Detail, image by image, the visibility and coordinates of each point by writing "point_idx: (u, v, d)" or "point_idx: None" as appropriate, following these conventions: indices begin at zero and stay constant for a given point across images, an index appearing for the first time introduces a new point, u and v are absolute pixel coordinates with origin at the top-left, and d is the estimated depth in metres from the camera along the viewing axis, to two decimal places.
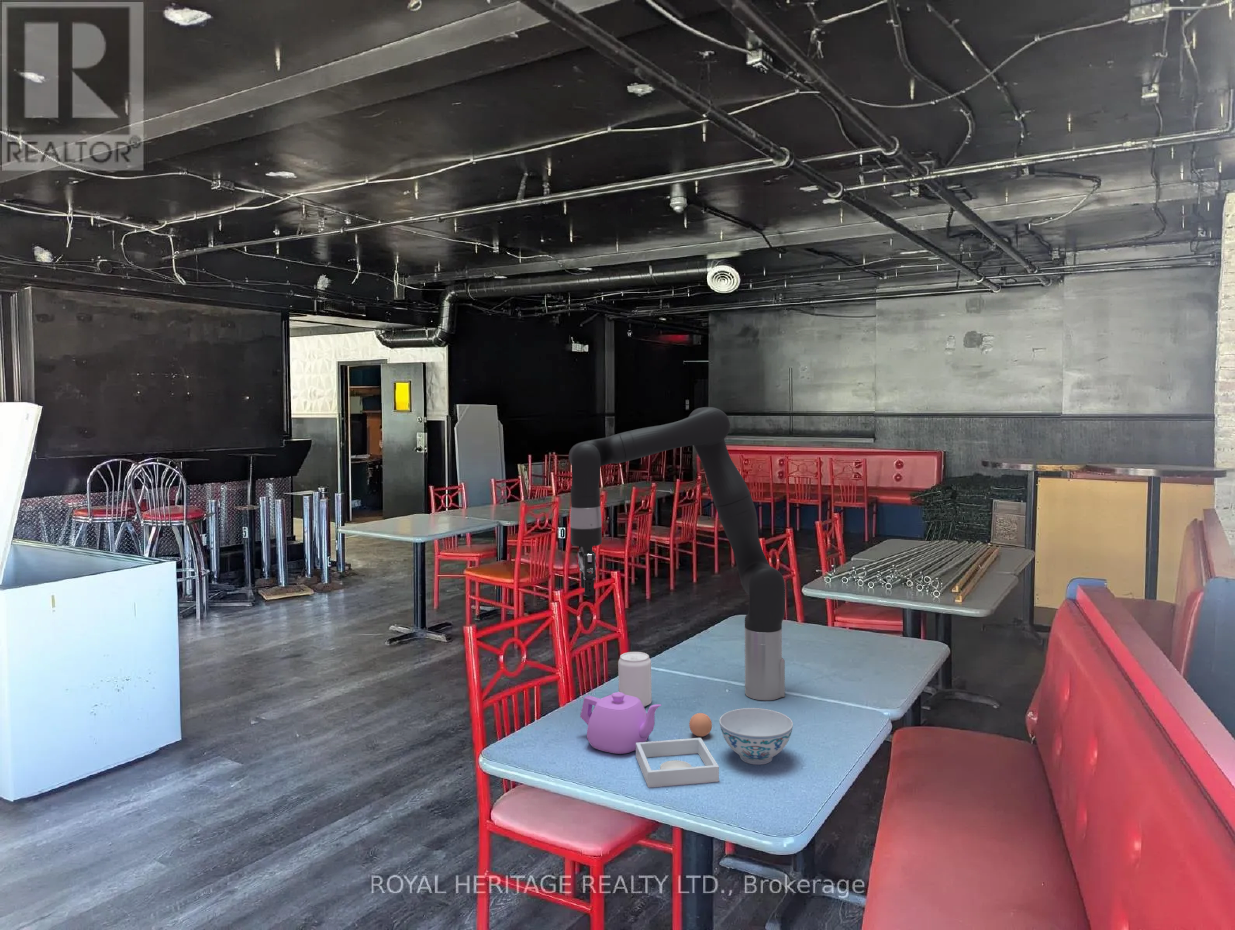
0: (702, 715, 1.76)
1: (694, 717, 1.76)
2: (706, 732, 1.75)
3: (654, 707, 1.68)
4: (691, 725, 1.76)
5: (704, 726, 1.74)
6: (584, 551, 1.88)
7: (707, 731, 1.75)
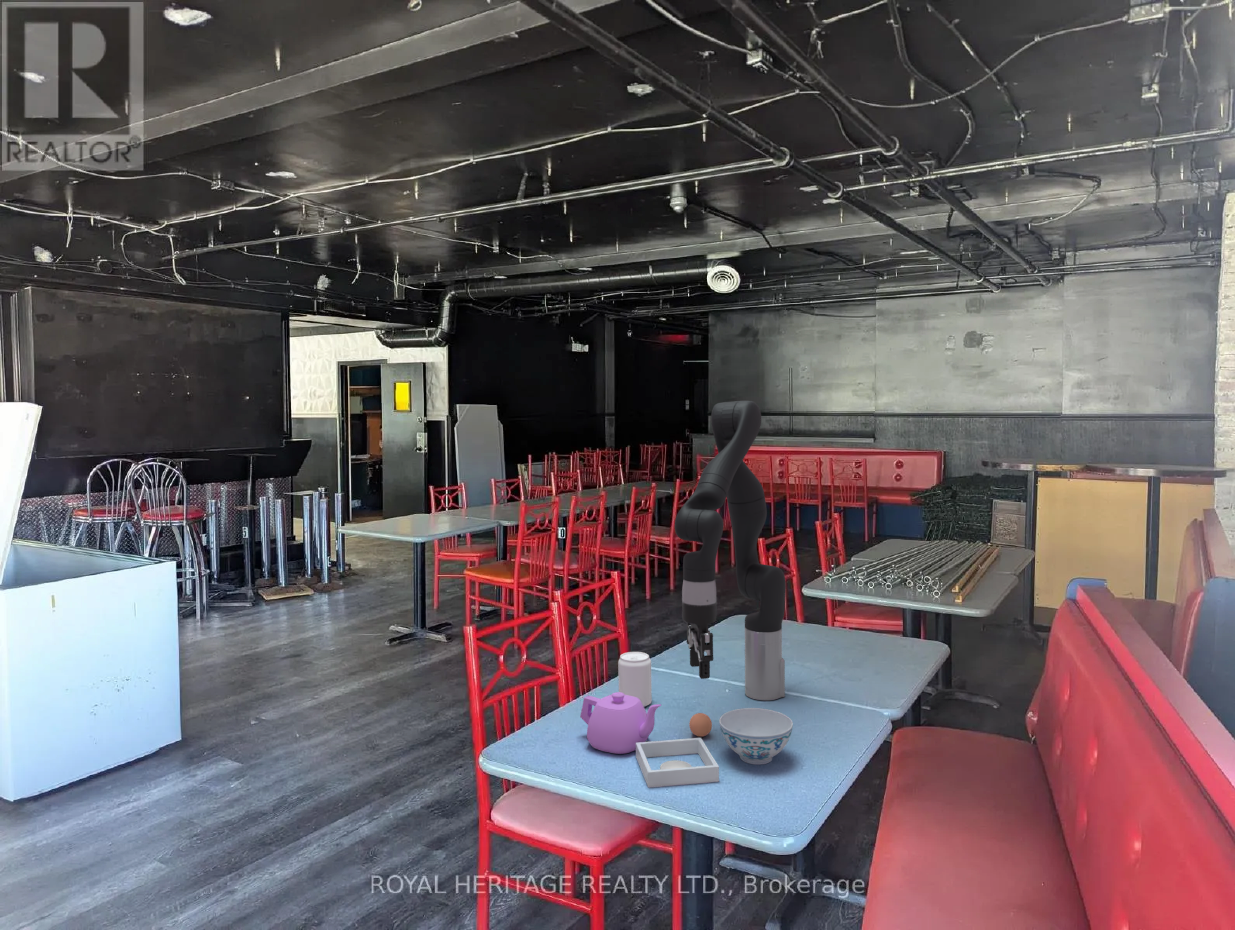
0: (702, 715, 1.76)
1: (694, 717, 1.76)
2: (706, 732, 1.75)
3: (654, 707, 1.68)
4: (691, 725, 1.76)
5: (704, 726, 1.74)
6: (699, 629, 1.72)
7: (707, 731, 1.75)
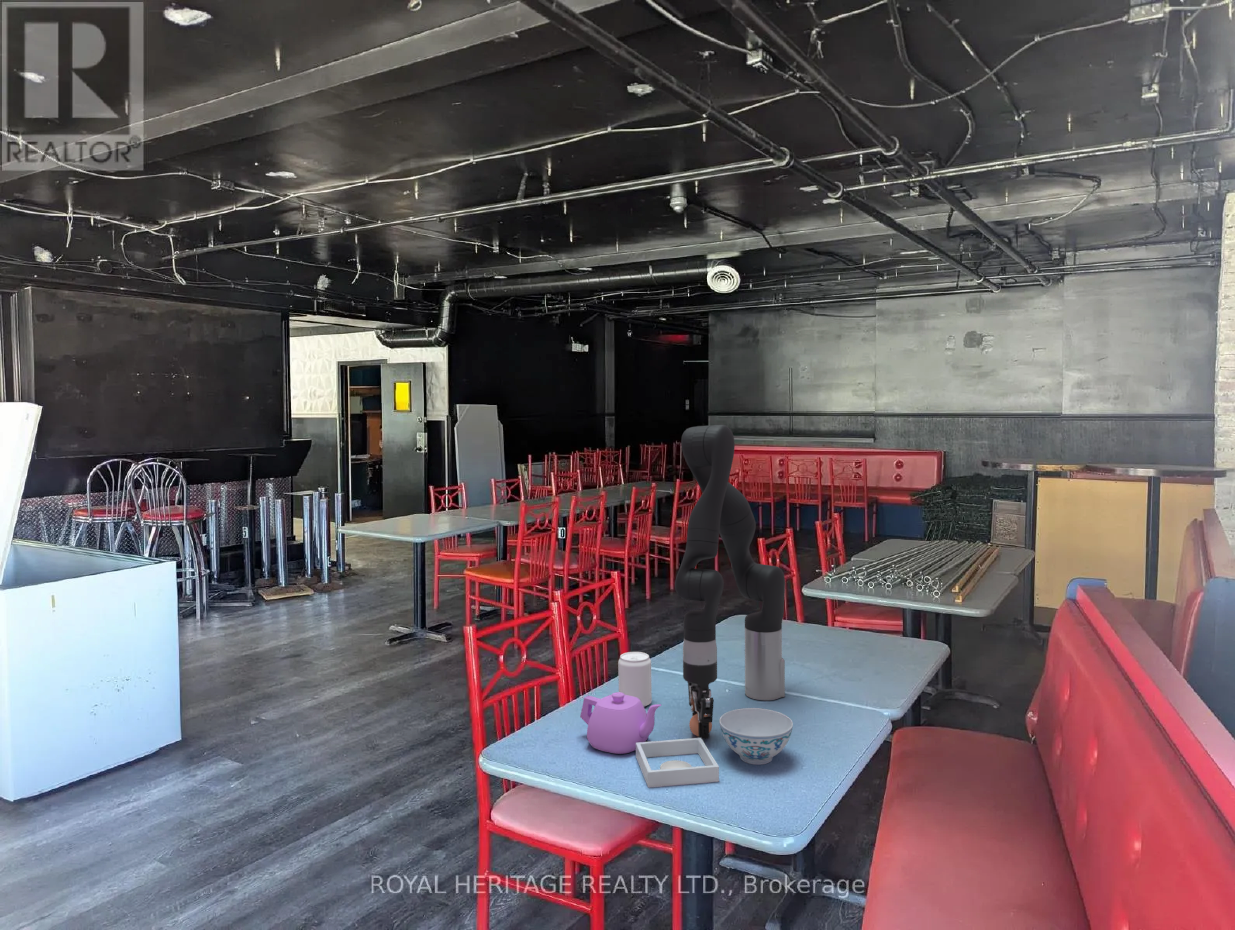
0: None
1: (694, 717, 1.76)
2: None
3: (654, 707, 1.68)
4: (691, 725, 1.76)
5: None
6: (700, 690, 1.72)
7: None
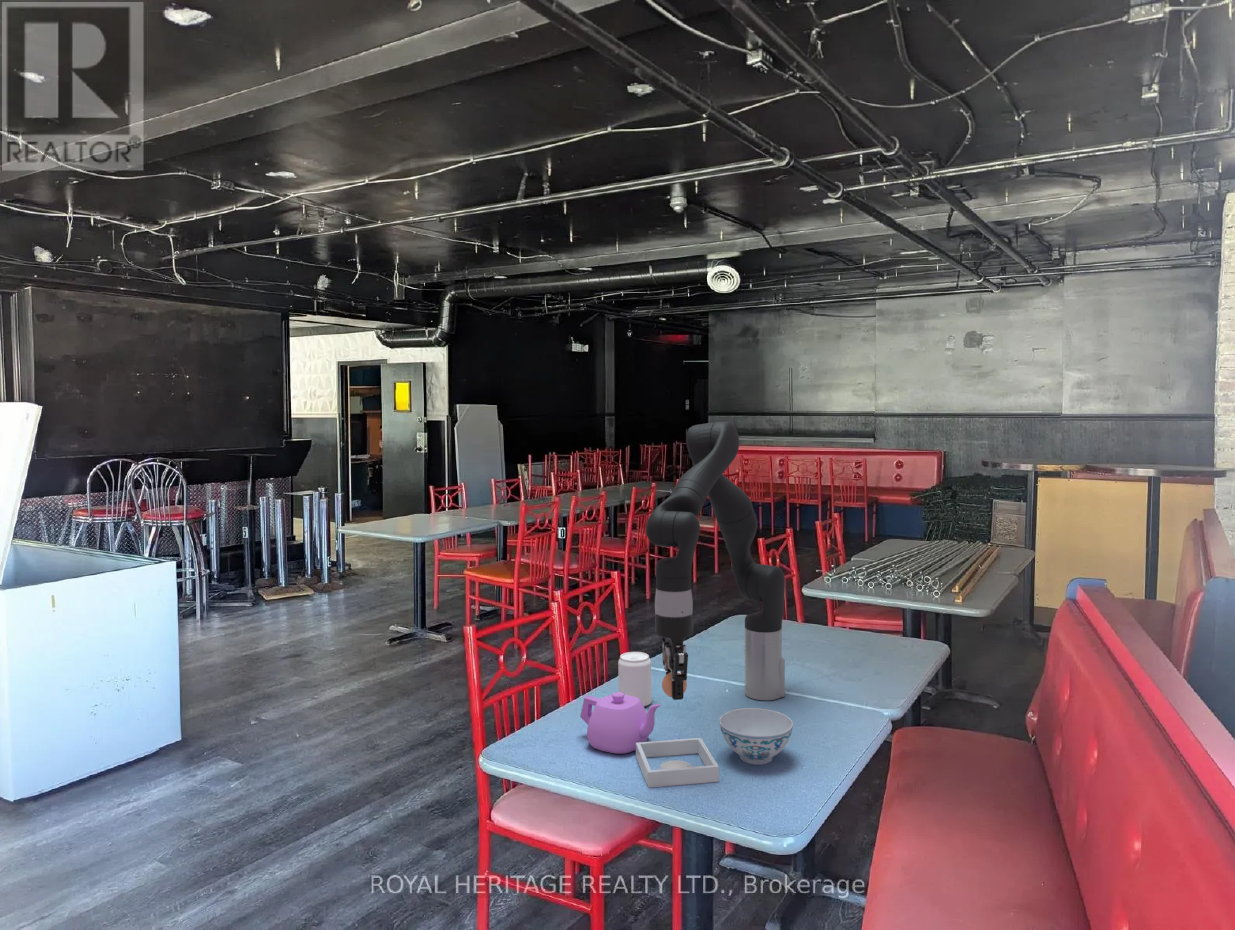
0: None
1: (667, 676, 1.59)
2: None
3: (654, 707, 1.68)
4: (664, 685, 1.58)
5: None
6: (674, 645, 1.55)
7: None
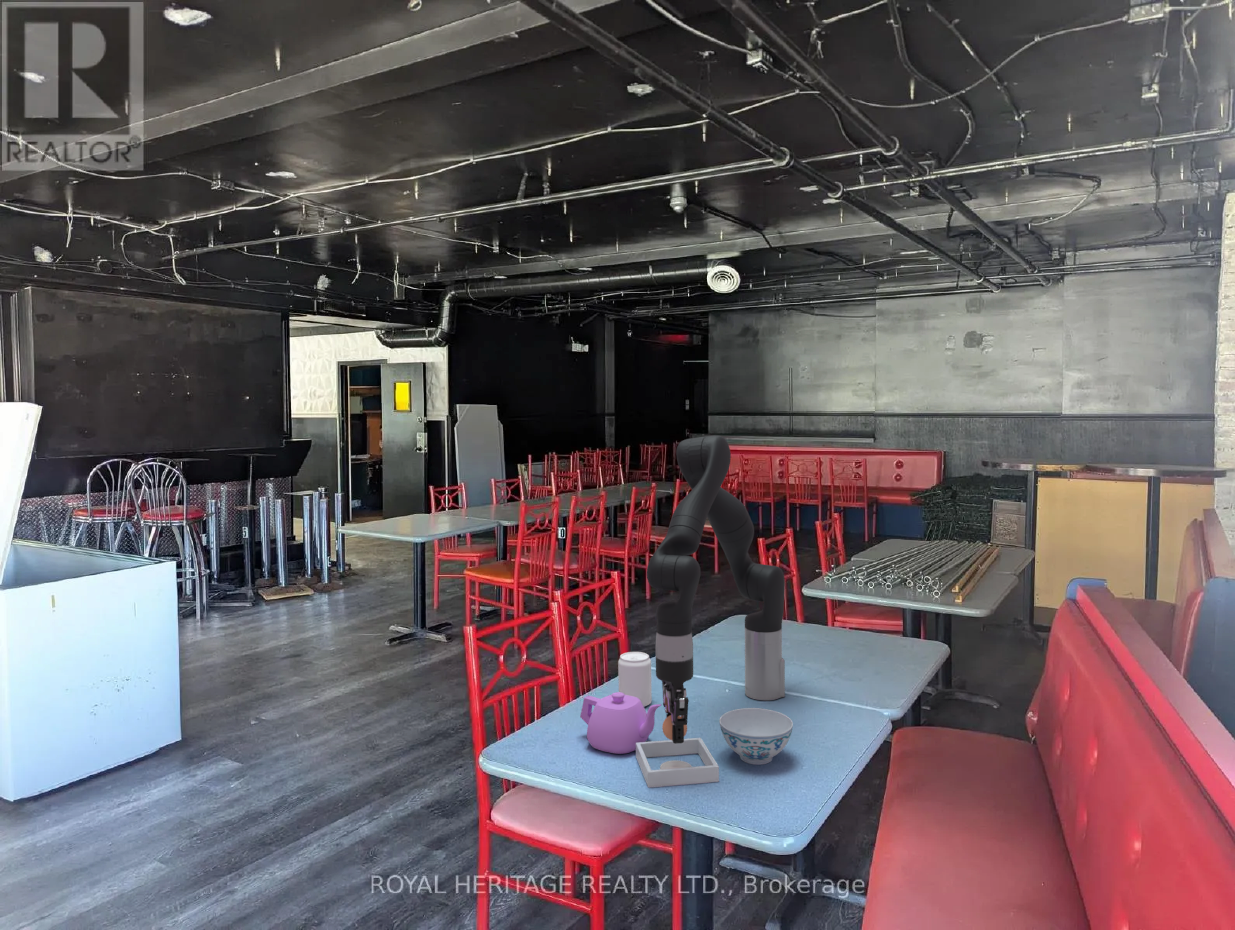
0: None
1: (667, 719, 1.59)
2: None
3: (654, 707, 1.68)
4: (664, 728, 1.59)
5: None
6: (674, 690, 1.56)
7: None
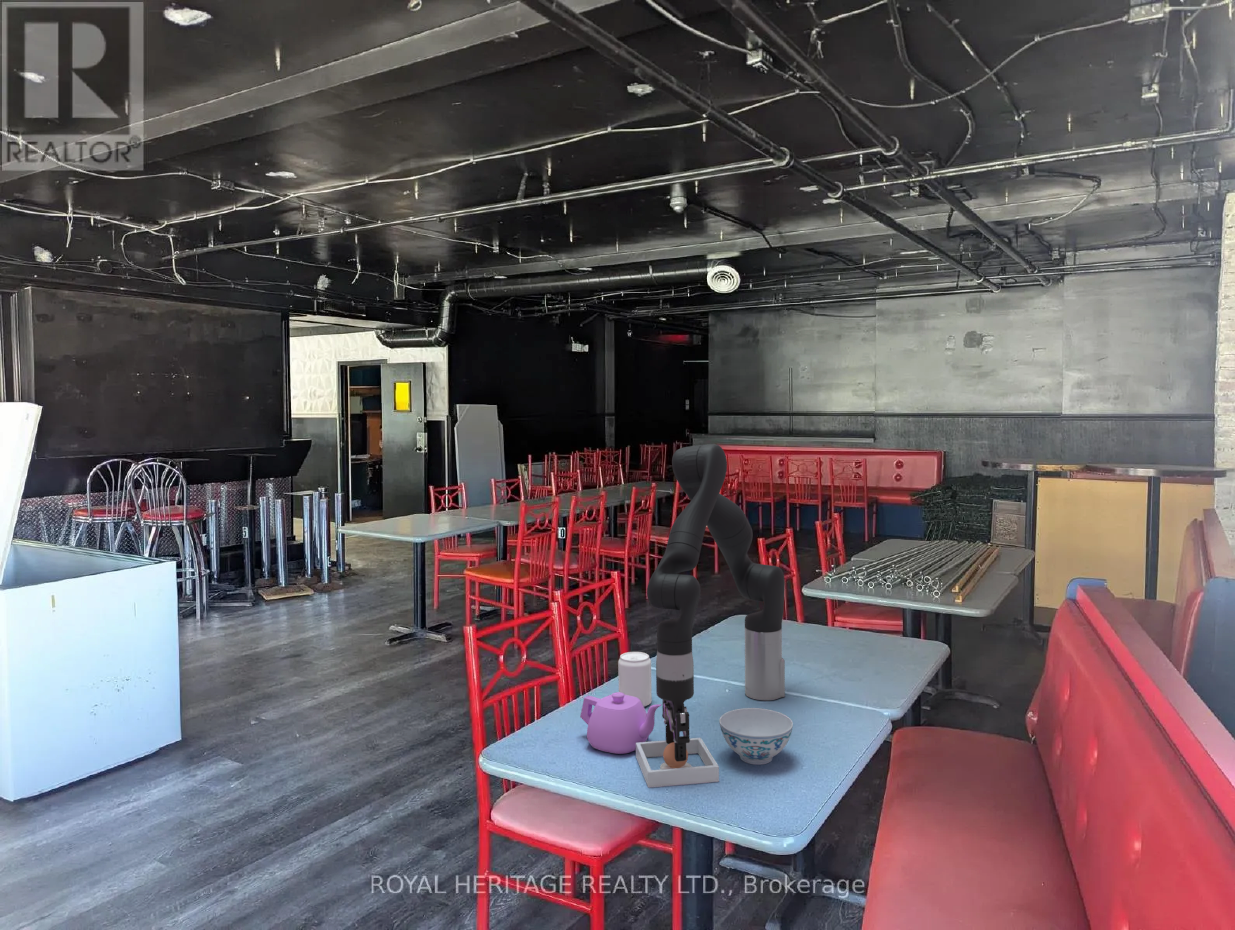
0: None
1: (668, 747, 1.60)
2: (681, 764, 1.59)
3: (654, 707, 1.68)
4: (665, 756, 1.59)
5: None
6: (674, 707, 1.56)
7: (682, 763, 1.59)
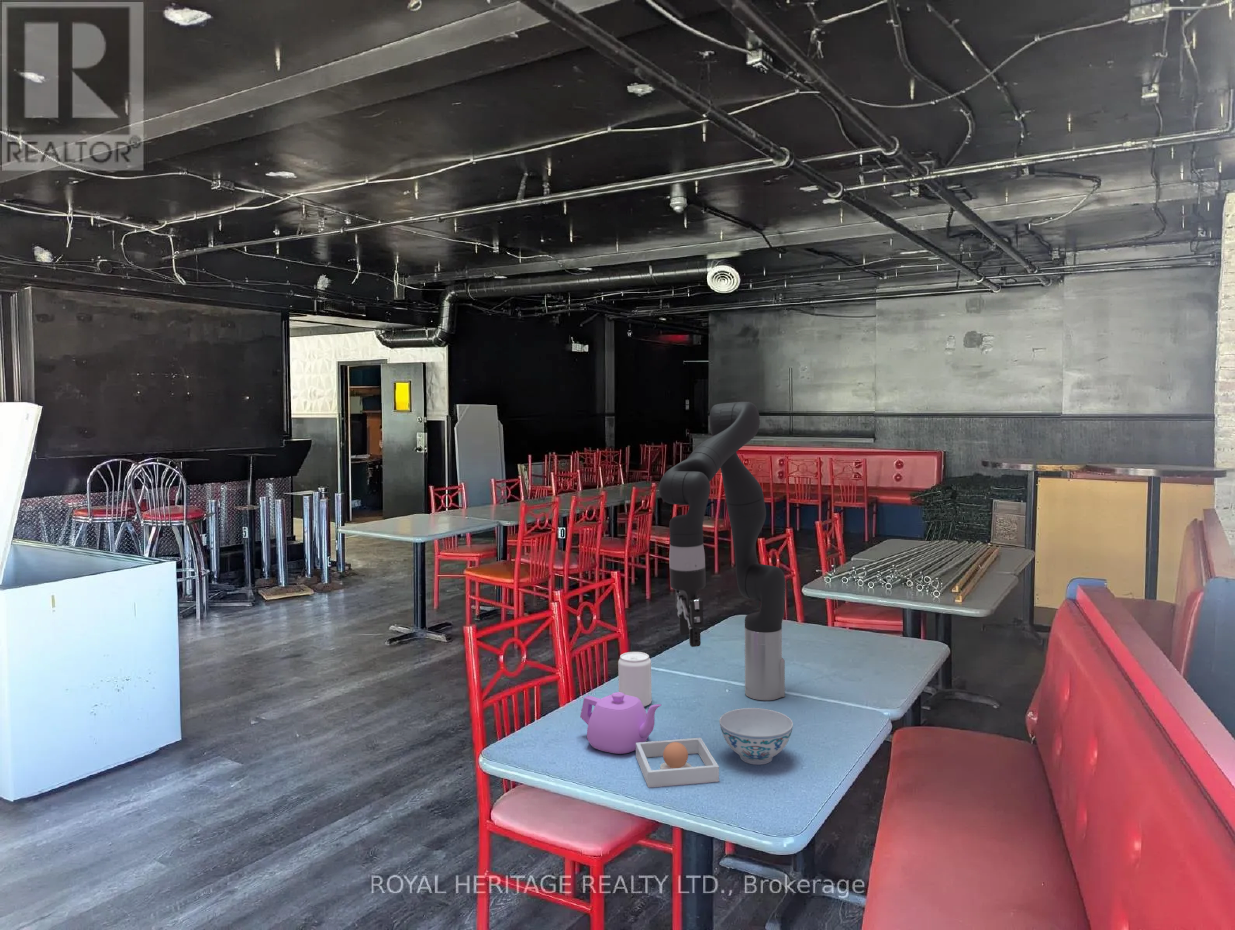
0: (677, 745, 1.60)
1: (668, 747, 1.60)
2: (681, 764, 1.59)
3: (654, 707, 1.68)
4: (665, 756, 1.59)
5: (679, 757, 1.58)
6: (688, 596, 1.65)
7: (682, 763, 1.59)
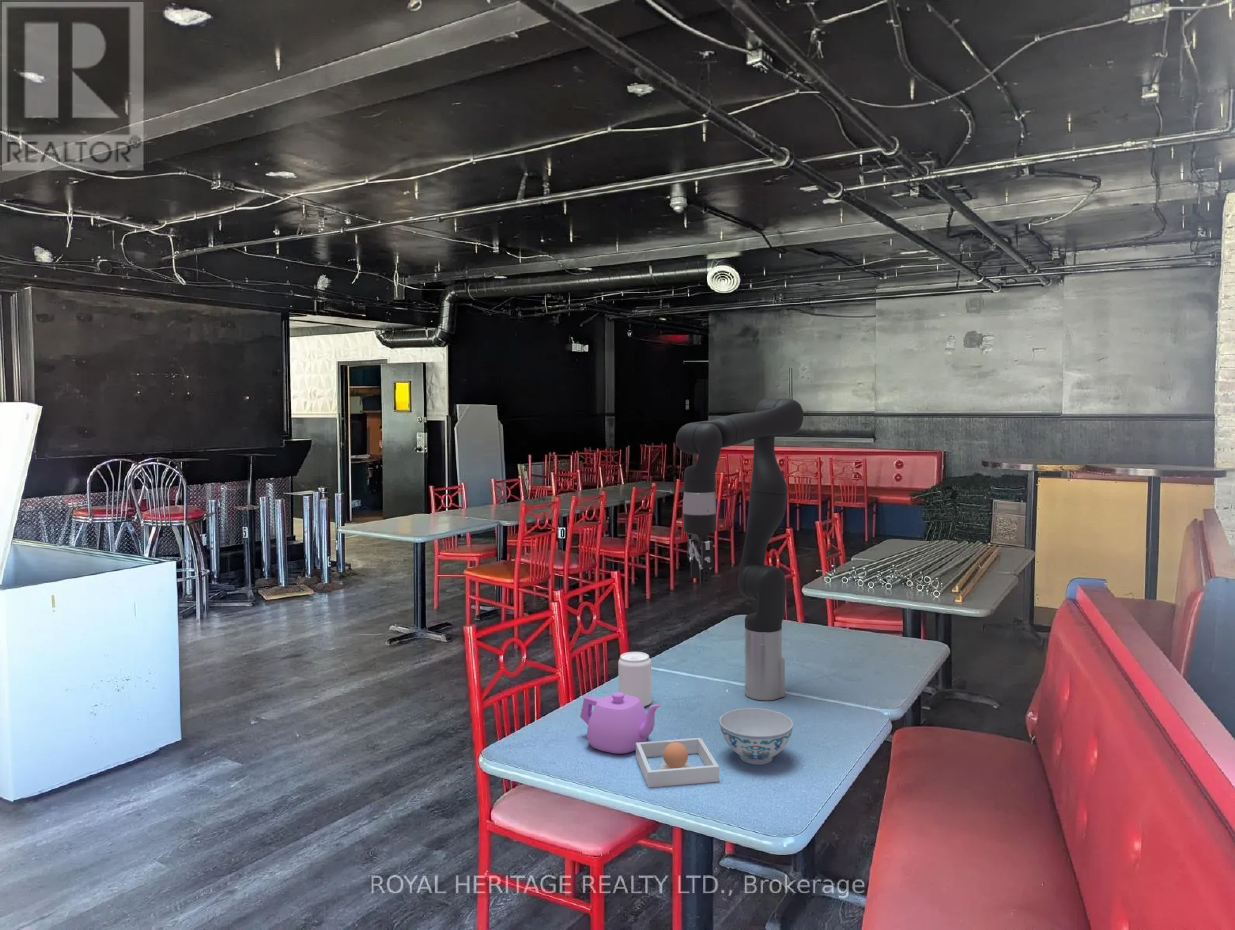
0: (677, 745, 1.60)
1: (668, 747, 1.60)
2: (681, 764, 1.59)
3: (654, 707, 1.68)
4: (665, 756, 1.59)
5: (679, 757, 1.58)
6: (700, 539, 1.77)
7: (682, 763, 1.59)
